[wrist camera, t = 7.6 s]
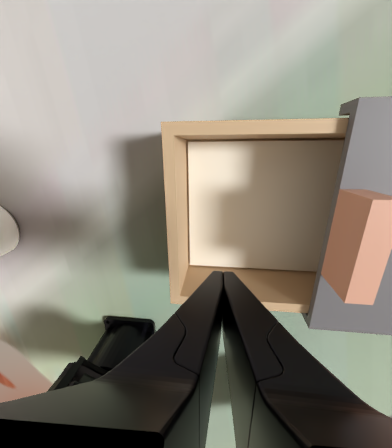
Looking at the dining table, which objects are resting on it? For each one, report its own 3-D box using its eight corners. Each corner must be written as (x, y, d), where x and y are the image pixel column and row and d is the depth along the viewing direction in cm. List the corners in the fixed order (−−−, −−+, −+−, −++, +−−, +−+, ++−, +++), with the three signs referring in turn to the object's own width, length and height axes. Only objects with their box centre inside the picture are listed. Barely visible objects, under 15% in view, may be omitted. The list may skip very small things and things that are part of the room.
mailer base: (182, 266, 24) (170, 303, 18) (178, 130, 19) (160, 121, 13) (376, 277, 21) (432, 322, 16) (424, 126, 17) (527, 114, 11)
